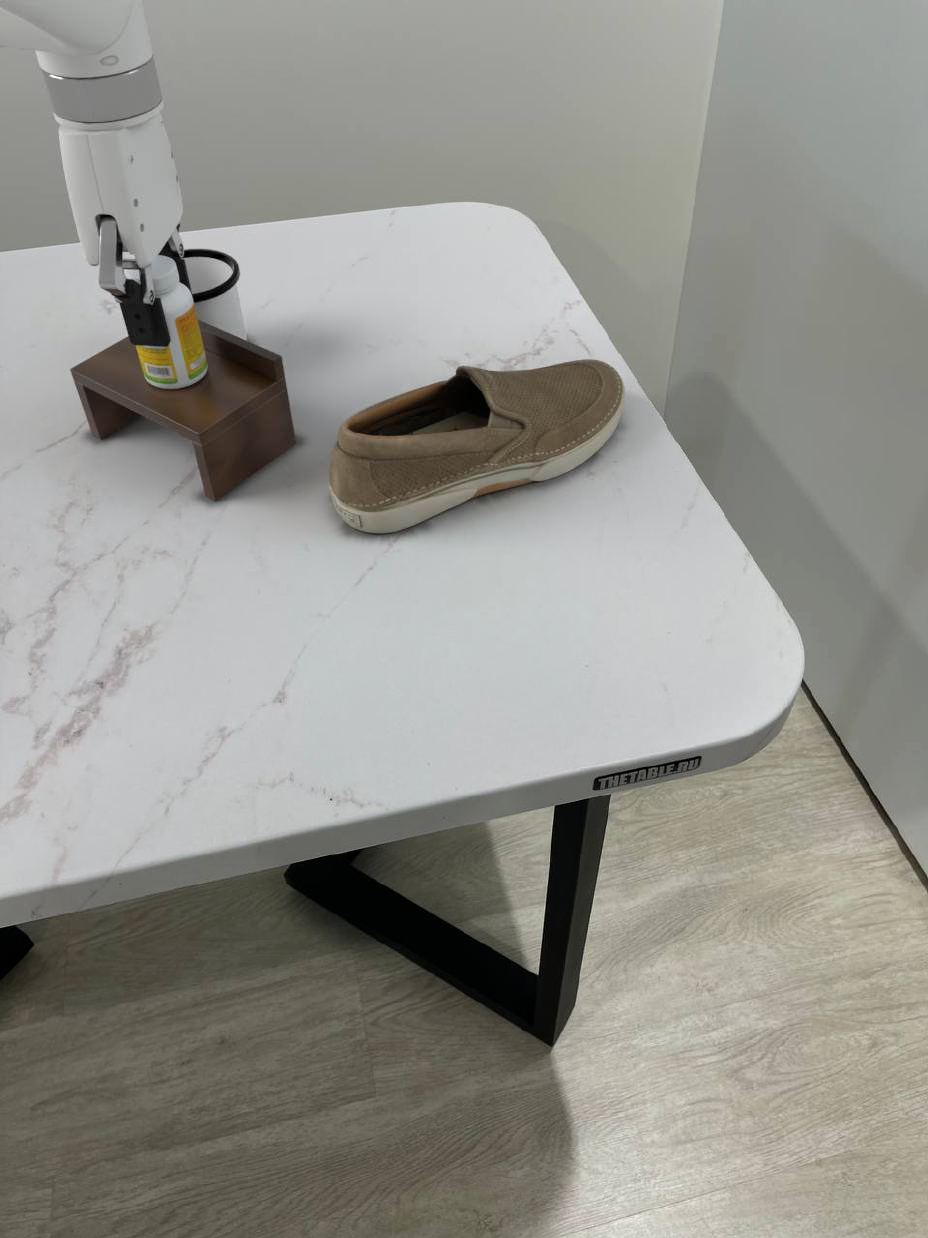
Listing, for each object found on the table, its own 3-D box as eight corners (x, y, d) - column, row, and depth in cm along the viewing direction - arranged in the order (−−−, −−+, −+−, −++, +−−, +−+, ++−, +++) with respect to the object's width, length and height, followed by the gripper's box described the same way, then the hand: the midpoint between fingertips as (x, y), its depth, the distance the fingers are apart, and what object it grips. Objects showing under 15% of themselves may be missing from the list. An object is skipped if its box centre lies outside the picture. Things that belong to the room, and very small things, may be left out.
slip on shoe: (585, 378, 98) (592, 293, 91) (658, 438, 91) (671, 351, 85) (306, 480, 88) (292, 392, 81) (365, 556, 81) (354, 467, 74)
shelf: (215, 501, 86) (193, 413, 79) (92, 435, 92) (62, 348, 86) (296, 442, 91) (281, 355, 85) (174, 384, 98) (152, 299, 91)
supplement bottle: (198, 350, 89) (174, 244, 82) (216, 380, 86) (193, 273, 79) (137, 365, 87) (108, 259, 80) (153, 397, 84) (123, 289, 77)
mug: (262, 372, 99) (247, 287, 92) (165, 391, 97) (142, 305, 90) (241, 312, 107) (226, 229, 100) (151, 328, 105) (129, 244, 98)
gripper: (96, 45, 76) (152, 270, 89) (-1, 135, 65) (81, 380, 78) (193, 47, 76) (235, 274, 89) (113, 139, 64) (175, 385, 77)
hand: (163, 321), depth 83 cm, fingers closed on supplement bottle, 5 cm apart
